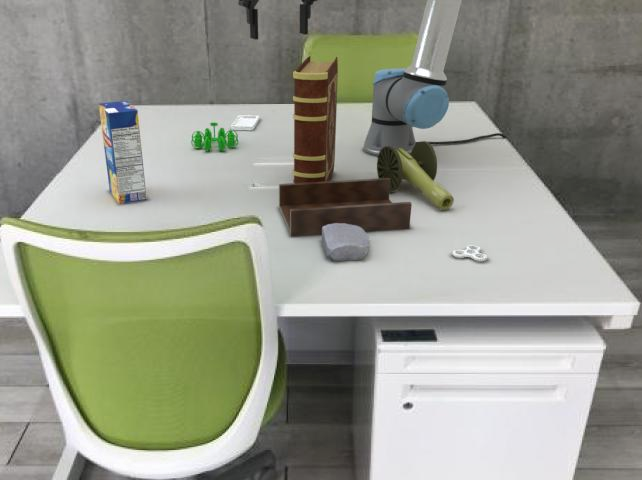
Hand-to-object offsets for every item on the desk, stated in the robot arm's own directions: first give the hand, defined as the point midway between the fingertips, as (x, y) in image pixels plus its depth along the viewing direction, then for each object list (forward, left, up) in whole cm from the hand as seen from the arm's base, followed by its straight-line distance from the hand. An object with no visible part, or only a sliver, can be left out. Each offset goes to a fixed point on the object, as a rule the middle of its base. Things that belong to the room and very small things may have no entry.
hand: (279, 36), depth 174 cm
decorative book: (-8, +5, -36) cm, 37 cm away
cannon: (-32, +17, -36) cm, 51 cm away
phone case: (+3, -59, -36) cm, 69 cm away
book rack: (-10, +29, -36) cm, 47 cm away
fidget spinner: (-31, +54, -36) cm, 72 cm away
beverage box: (+40, +5, -36) cm, 54 cm away
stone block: (-7, +47, -36) cm, 60 cm away
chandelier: (+15, -35, -36) cm, 52 cm away
